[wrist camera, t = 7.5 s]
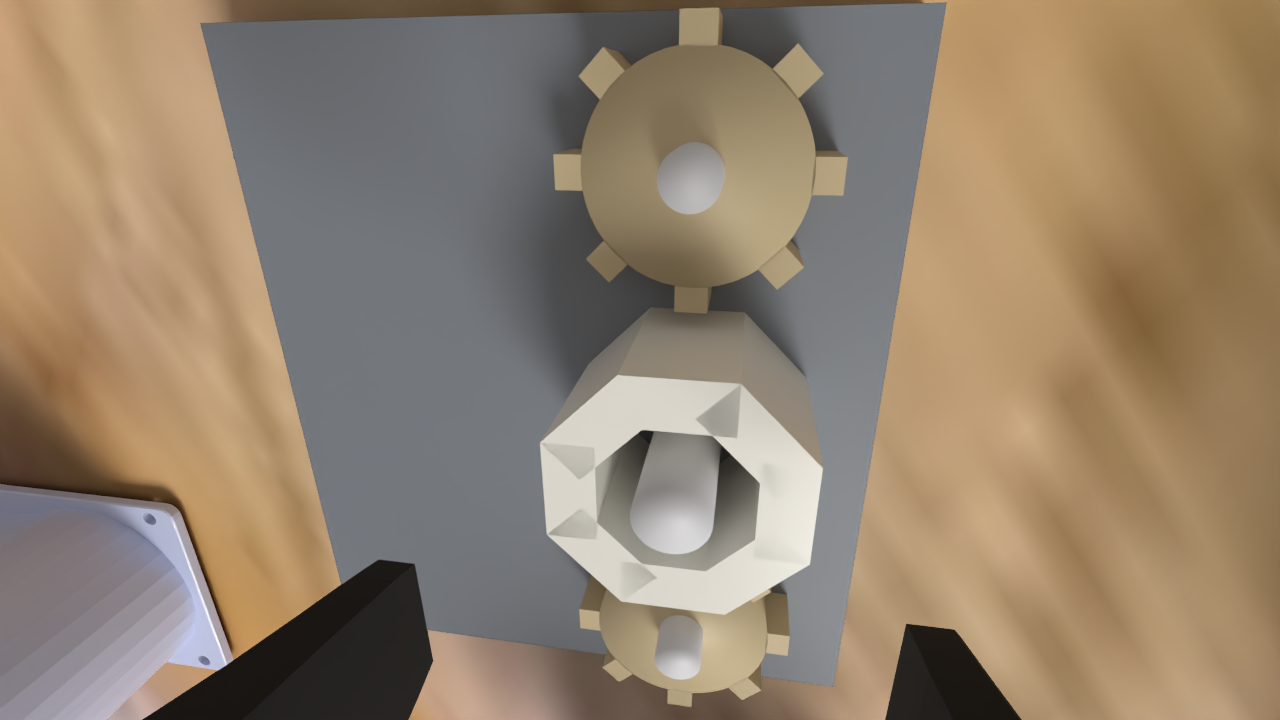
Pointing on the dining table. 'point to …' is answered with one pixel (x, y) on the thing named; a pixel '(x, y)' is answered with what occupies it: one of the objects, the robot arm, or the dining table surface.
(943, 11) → the gear board
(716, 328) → the octagonal pipe segment
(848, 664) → the dining table surface
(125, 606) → the robot arm
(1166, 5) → the dining table surface
